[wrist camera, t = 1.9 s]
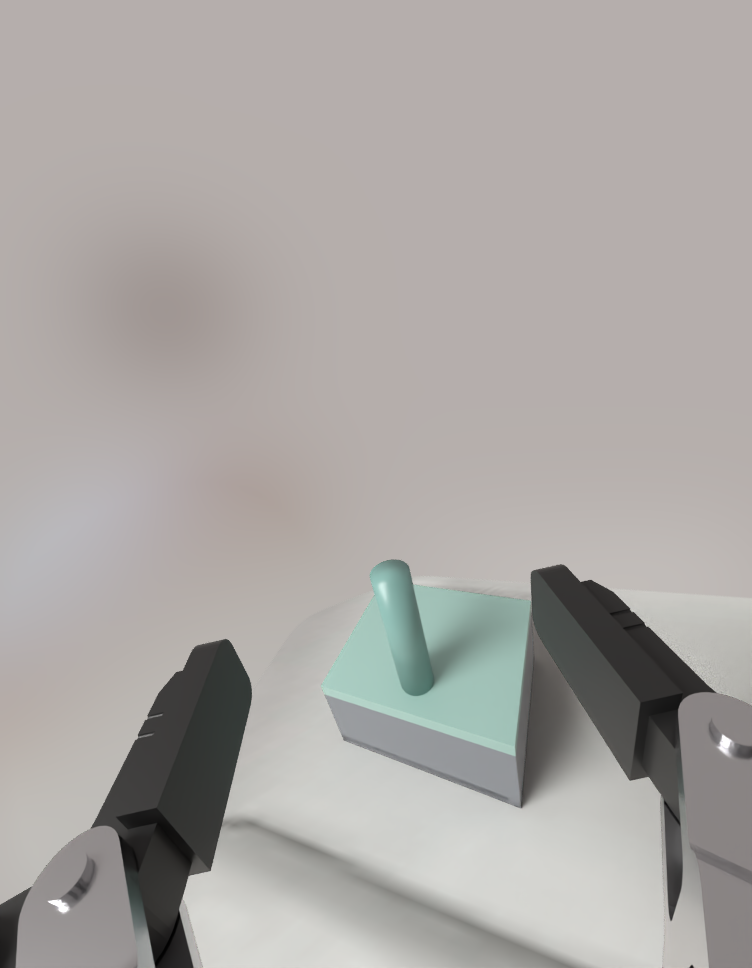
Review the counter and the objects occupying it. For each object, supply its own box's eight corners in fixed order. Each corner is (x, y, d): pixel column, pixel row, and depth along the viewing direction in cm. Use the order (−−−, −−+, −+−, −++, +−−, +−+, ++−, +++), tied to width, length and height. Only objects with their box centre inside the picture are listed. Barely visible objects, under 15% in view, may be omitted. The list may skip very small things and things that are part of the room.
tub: (533, 657, 34) (531, 609, 31) (521, 808, 24) (515, 756, 22) (396, 629, 40) (384, 588, 38) (343, 740, 31) (324, 694, 28)
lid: (531, 618, 32) (525, 498, 27) (516, 765, 22) (502, 623, 17) (386, 595, 38) (359, 495, 33) (327, 702, 29) (278, 585, 24)
